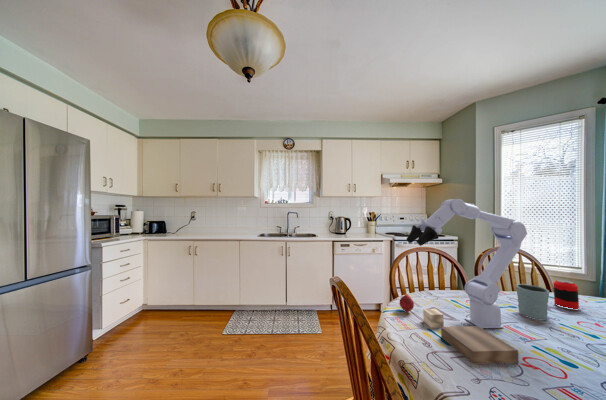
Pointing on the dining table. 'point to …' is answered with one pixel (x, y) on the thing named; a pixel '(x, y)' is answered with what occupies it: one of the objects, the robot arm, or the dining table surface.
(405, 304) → the pomegranate
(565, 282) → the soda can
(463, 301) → the dining table surface
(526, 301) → the green plant pot
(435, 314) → the beech cube
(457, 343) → the walnut block
